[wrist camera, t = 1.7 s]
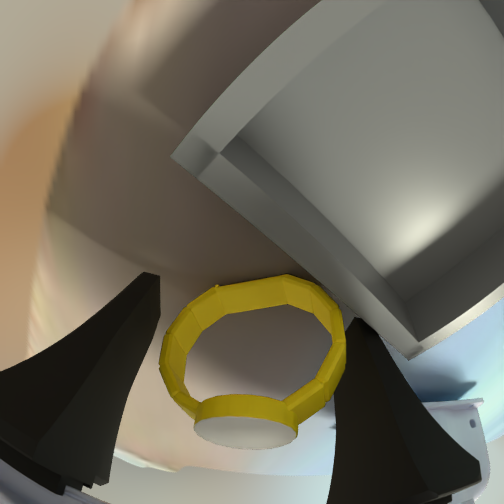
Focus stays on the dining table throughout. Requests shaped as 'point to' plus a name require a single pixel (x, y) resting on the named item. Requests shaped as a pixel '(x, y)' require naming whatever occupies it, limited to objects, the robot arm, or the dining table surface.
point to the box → (374, 158)
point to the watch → (241, 405)
